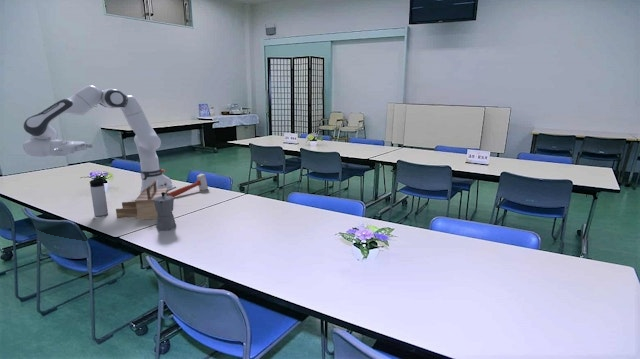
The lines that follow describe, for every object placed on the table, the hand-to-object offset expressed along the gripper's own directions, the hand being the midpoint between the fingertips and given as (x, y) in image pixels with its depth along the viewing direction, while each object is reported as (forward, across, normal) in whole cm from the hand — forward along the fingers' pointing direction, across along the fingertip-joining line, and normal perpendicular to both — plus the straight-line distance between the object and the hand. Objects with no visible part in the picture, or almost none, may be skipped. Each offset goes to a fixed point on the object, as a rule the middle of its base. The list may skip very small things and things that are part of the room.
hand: (89, 147), depth 196 cm
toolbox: (+27, -15, +35) cm, 47 cm away
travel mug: (+6, -15, +35) cm, 39 cm away
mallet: (+47, +20, +36) cm, 62 cm away
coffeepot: (+42, -40, +35) cm, 68 cm away
